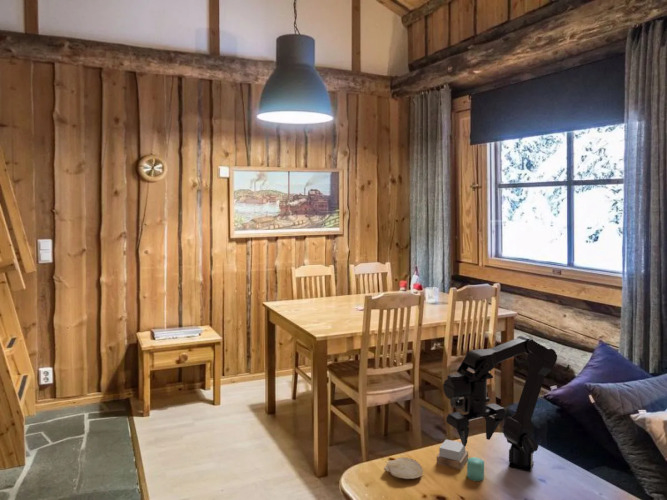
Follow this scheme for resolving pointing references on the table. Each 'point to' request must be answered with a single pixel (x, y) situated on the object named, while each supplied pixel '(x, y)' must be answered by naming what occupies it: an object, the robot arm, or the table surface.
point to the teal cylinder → (475, 469)
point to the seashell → (404, 468)
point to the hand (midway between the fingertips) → (476, 442)
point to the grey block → (452, 450)
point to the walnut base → (453, 461)
